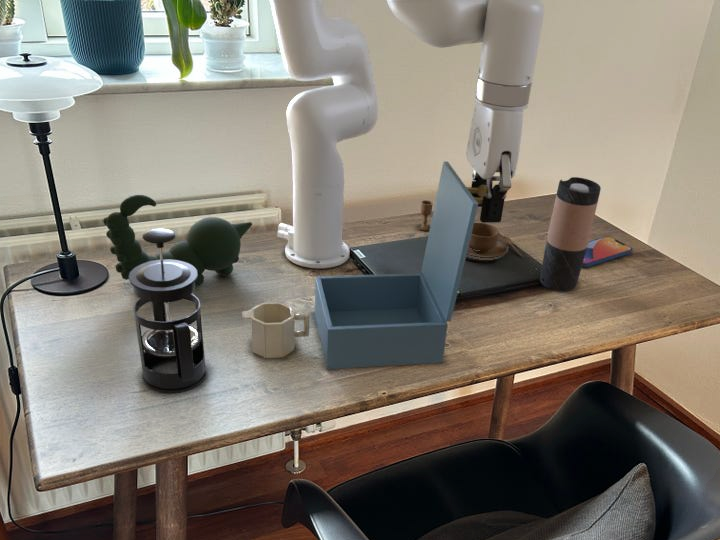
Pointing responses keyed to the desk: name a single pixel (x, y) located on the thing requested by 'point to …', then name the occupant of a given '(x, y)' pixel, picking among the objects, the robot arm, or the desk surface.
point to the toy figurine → (201, 249)
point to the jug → (274, 329)
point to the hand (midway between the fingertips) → (484, 212)
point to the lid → (449, 237)
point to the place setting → (477, 238)
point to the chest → (378, 320)
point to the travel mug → (569, 233)
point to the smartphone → (604, 250)
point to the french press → (168, 337)
